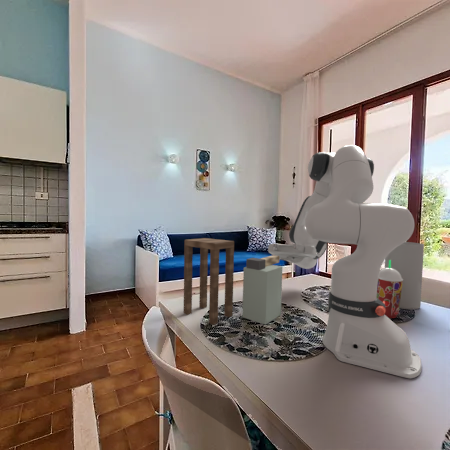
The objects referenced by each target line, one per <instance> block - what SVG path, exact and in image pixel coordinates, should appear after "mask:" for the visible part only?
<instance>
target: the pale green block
mask: <svg viewBox="0 0 450 450" xmlns="http://www.w3.org/2000/svg"><path fill="white" fill-rule="evenodd" d="M242 279H243V282H242V285H243V286H242V318H243V319H247V320H250V321H253V322H255V323H256V322H257V323H260V324H262V325H264V326H265V325H268V324H269V323H270V322H272V321H273V320H275V319H276V318H278V317H280V316H281V315H282V293H283V292H282V291H283V290H282V289H283V288H282V287H283V266H281V265H276V264H273V265H269V266H266V267H265V269H261V270H255V269H249V268H246V266H245V267H243V276H242Z"/></svg>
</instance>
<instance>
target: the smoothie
mask: <svg viewBox="0 0 450 450" xmlns="http://www.w3.org/2000/svg"><path fill="white" fill-rule="evenodd" d="M402 283H403V279H402V277H401V275H400V273H399V272H398V271H397V270H395V269H393V268H391V260H389V267H387V268H385V267H384V268H380V271H379V277H378V284H377V298H378V299H379V300H380V301H382V302H383V301H385V309H386V312H385V315H386V316H387V317H388V318H389V319H395V318H397V317H398V315H399V314H400V313H399V312H400V308H399V307H400V299H401V291H402Z"/></svg>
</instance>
